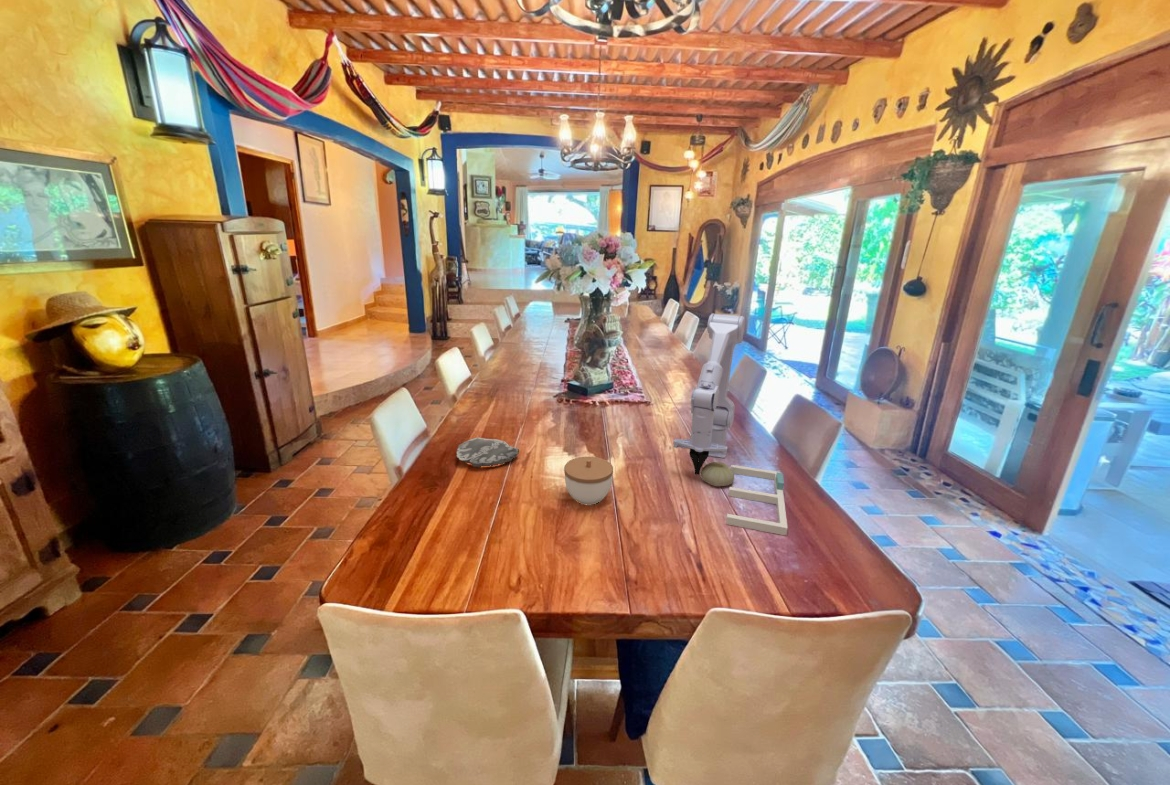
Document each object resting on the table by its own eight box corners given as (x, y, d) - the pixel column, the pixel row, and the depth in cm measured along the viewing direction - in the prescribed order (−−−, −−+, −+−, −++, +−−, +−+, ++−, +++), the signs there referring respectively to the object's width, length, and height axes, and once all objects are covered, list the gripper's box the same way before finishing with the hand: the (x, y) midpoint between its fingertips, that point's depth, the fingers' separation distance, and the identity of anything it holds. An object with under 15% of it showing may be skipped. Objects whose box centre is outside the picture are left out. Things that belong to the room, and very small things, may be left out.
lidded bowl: (577, 516, 115) (577, 476, 111) (556, 492, 125) (556, 455, 122) (621, 503, 120) (622, 465, 117) (597, 481, 131) (598, 446, 127)
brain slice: (441, 463, 141) (441, 454, 140) (478, 442, 155) (478, 434, 155) (493, 479, 133) (493, 469, 132) (527, 455, 147) (527, 446, 146)
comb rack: (726, 524, 112) (727, 509, 111) (730, 470, 138) (732, 458, 137) (786, 535, 108) (788, 520, 107) (779, 478, 134) (781, 465, 133)
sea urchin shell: (734, 468, 135) (736, 458, 129) (731, 494, 132) (733, 486, 125) (702, 463, 138) (702, 453, 131) (698, 488, 135) (699, 480, 128)
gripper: (673, 431, 128) (669, 475, 132) (728, 438, 123) (722, 484, 128) (676, 421, 134) (673, 464, 139) (729, 428, 130) (724, 472, 134)
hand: (697, 473), depth 134 cm, fingers closed
